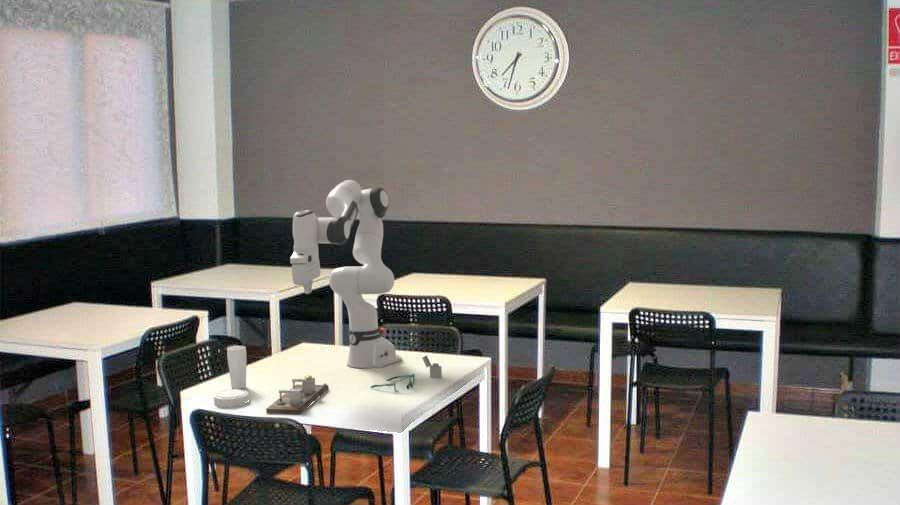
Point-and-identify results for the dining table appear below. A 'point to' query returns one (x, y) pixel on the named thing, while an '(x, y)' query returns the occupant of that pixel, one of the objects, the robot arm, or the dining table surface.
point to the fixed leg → (299, 396)
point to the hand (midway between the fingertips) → (308, 293)
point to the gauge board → (286, 408)
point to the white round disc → (231, 398)
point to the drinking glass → (237, 366)
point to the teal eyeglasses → (397, 381)
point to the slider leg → (306, 384)
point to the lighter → (433, 368)
